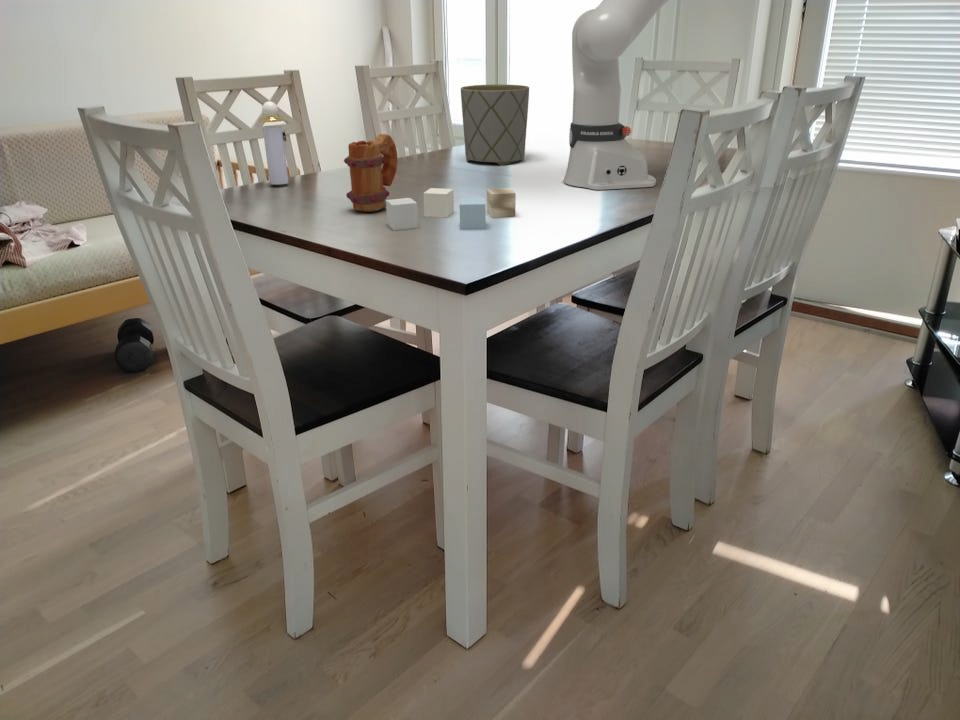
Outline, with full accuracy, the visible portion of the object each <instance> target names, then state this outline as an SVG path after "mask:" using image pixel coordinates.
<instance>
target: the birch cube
mask: <svg viewBox="0 0 960 720" xmlns="http://www.w3.org/2000/svg"><path fill="white" fill-rule="evenodd" d="M516 195H517V194H516V192H515V191H514V190H513V189H512V188H511V187H507V188H505V187H503V188H486V213H487V215H489V217H490V218H491V219H500V218H501V219H502V218H516V200H517V199H516V198H517V196H516Z"/></svg>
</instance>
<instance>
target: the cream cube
mask: <svg viewBox="0 0 960 720" xmlns="http://www.w3.org/2000/svg"><path fill="white" fill-rule="evenodd" d="M422 196H423V215H424V217H425V218H443V219H444V218H446V219H448V218H449V217H450V216H452V215H453V214H454V212H455V208H454V207H455V206H454V203H455V202H454V201H455V200H454V198H455V197H454V189H453V188H436V187H431V188H428V189H427V190H425V191H424V192H423V194H422Z"/></svg>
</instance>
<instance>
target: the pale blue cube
mask: <svg viewBox="0 0 960 720" xmlns="http://www.w3.org/2000/svg"><path fill="white" fill-rule="evenodd" d="M486 213H487V209H486V198H484V197H481V198H459V230H463V231H466V230H467V231H468V230H471V231H472V230H486V227H487V225H486V224H487V223H486V216H487V215H486Z"/></svg>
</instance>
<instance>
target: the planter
mask: <svg viewBox="0 0 960 720" xmlns="http://www.w3.org/2000/svg"><path fill="white" fill-rule="evenodd" d="M529 95H530V87H529V86H527V85H522V84H521V85H519V84H475V85H467V86H466V85H465V86H461V87H460V100H461V101H460V102H461V113H462V125H463V127H462V128H463V137H464V138H463V139H464V151H465V160H466V162H467V163H470V161H474V162H483V163H494V164H495V163H496V164H497V165H499V166H506V165H507V164H510V163H515V162H518V161H521V160H524V159H525V154H526V139H527V127H528V126H527V125H528V124H527V123H528V112H529V100H530V99H529V97H530V96H529Z"/></svg>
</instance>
